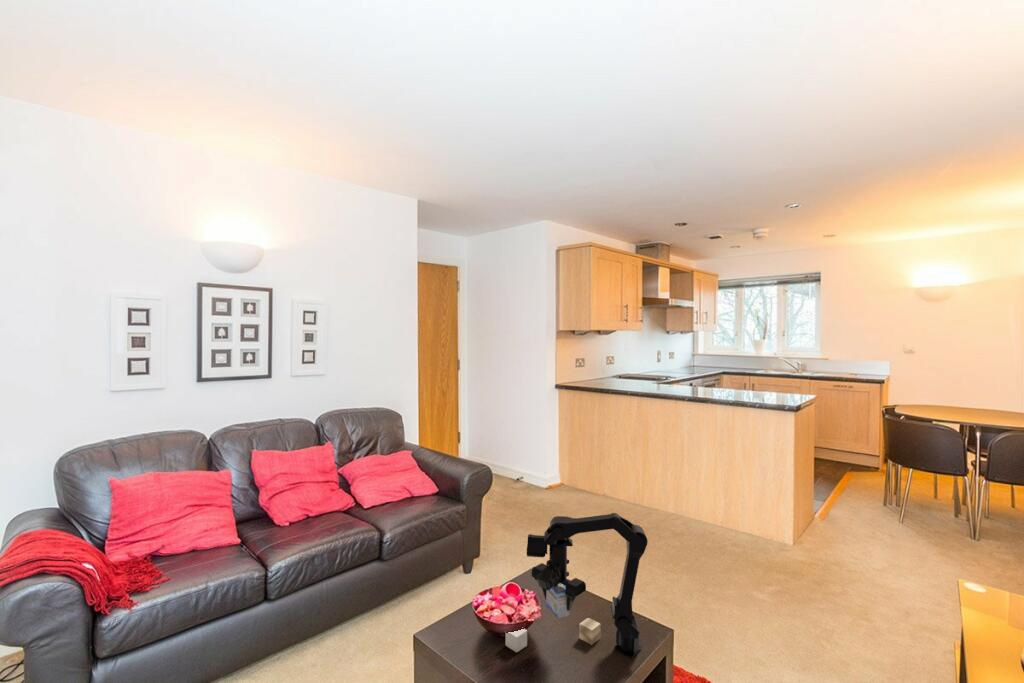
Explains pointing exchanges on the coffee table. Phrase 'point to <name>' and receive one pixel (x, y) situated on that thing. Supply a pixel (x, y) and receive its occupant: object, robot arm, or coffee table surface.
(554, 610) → the medicine box
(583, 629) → the maple cube
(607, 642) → the coffee table surface
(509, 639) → the grey plastic cube
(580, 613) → the coffee table surface
